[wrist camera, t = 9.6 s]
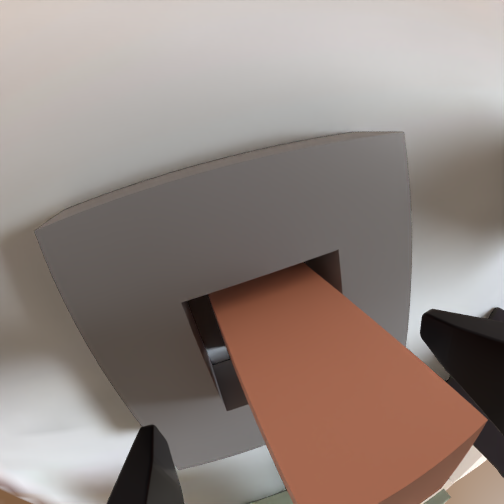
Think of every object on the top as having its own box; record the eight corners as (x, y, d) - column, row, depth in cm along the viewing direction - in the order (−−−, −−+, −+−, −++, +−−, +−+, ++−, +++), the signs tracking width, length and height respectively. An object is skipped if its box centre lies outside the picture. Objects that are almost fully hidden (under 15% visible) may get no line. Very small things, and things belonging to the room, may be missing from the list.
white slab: (537, 337, 35) (559, 352, 30) (520, 392, 46) (535, 404, 41) (432, 460, 34) (452, 483, 28) (437, 480, 45) (450, 496, 39)
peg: (286, 248, 13) (487, 419, 4) (299, 319, 14) (441, 487, 5) (202, 276, 12) (313, 534, 3) (225, 346, 13) (321, 556, 4)
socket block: (355, 131, 12) (403, 131, 9) (370, 349, 16) (401, 379, 14) (63, 210, 10) (34, 230, 7) (171, 426, 14) (178, 470, 11)
